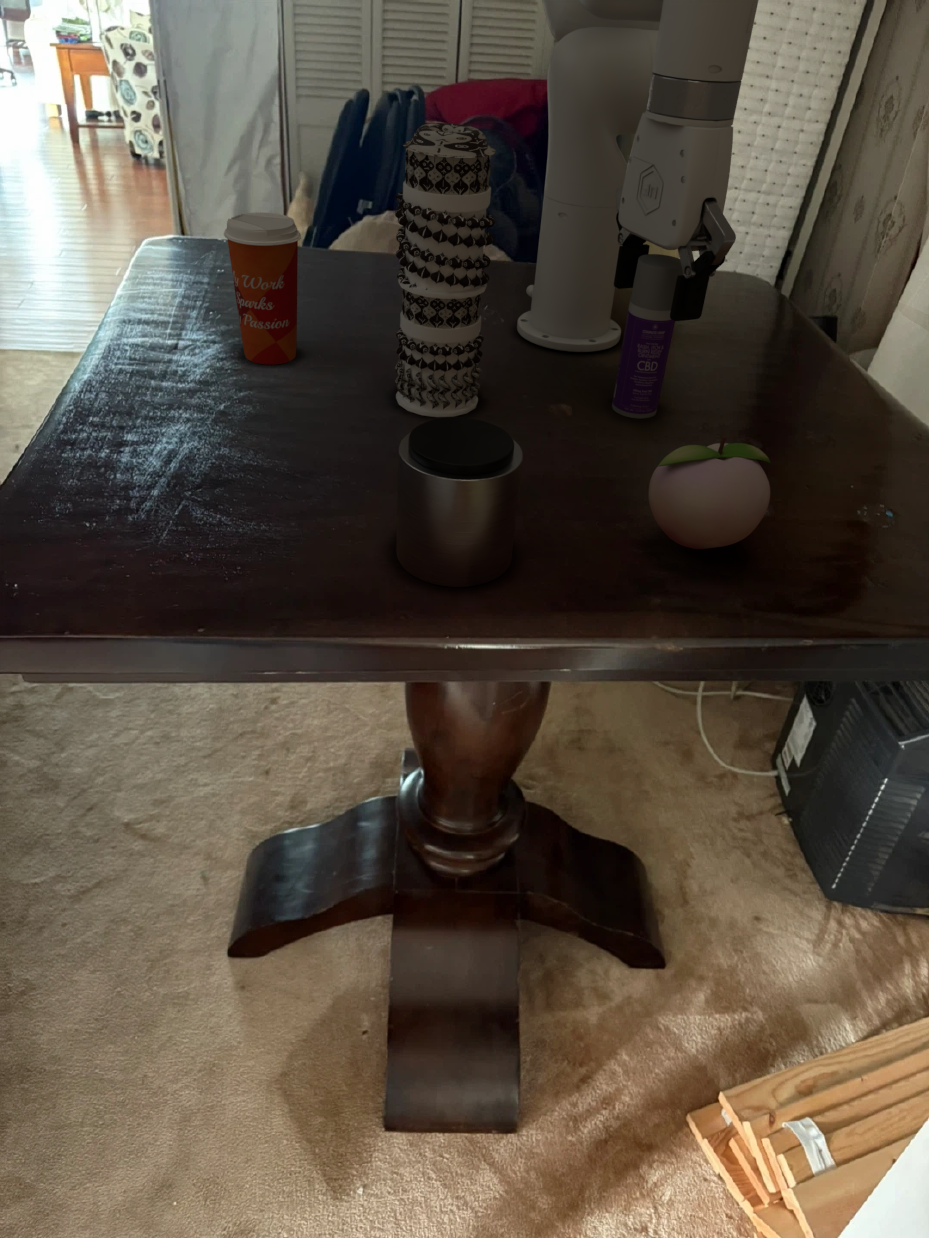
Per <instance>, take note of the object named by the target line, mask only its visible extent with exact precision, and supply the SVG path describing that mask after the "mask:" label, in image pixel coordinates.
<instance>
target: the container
mask: <svg viewBox="0 0 929 1238" xmlns="http://www.w3.org/2000/svg"><path fill="white" fill-rule="evenodd" d="M678 275H683V270H682V266H681V262H680V258H678V257H676V256H671V255H668V254H659V253H649V254H647V255H642V256H640V257H639V259H638V264H637V269H636V274H635V279H634V284H633V288H631V289H632V290H631V294H630V300H629V305H628V309H627V315H626V321H625V326H624V332H623V336H622V337H623V338H622V344H621V350H620V355H619V360H618V361H619V362H618V367H617V373H616V379H615V384H614V391H613V397H612V402H611V408H612V410H613V411H614V412H615V413H616V414H618V415H620V416H623V417H627V418H631V419H649V418H652V417H654V416H656V415H657V411H658V406H659V402H660V397H661V392H662V389H663V388H662V387H663V382H664V378H665V373H666V368H667V362H668V359H669V353H670V349H671V344H672V339H673V335H674V330H675V324H676V321H674V320H672V319H671V318H670V312H671V307H672V302H673V296H674V291H675V286H676V281H677V277H678Z"/></svg>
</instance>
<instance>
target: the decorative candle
mask: <svg viewBox="0 0 929 1238" xmlns="http://www.w3.org/2000/svg"><path fill="white" fill-rule="evenodd" d="M402 146H403V147H404V149H405V171H404V173H405V174H404V181H403V183H402V191H401V192H400V191H398V192H397V195H395V197H394V198H395V200H396V201H397V202H398V206H397V207H396V209H395V211H394V217H396V218H397V223H398V224H399V225H401V226H400V227H399V228H398V229H397V234H396V236H395V239H396V241H397V242H398V245H399V246H398V250H396V252H395V257H396V258H397V259H398V264H399V265H400V267H399V269H398V273H397V274H396V279H397V283H398V285H399V286H400V288H401V289H402V302H401V303H402V304H401V311H400V312H399V313H400V317H399V318H400V319H399V328H398V331H397V332H396V333H395V336H396V338H397V339H398V346H396V349H395V352H396V354H398V358H399V359H398V360H397V362H396V364H395V367H394V370H395V372H396V374H397V377H396V379H395V381H394V384H395V385H394V386H395V387H396V388H397V392H396V394H395V399H396V401H397V405H399V406H400V407H402V408H403V409H405V410H406V411H407V412H409V413H414V414H416V415H420V416H423V417H424V416H425V417H431V418H451V417H458V416H462V415H466V414H468V413H470V412H471V411H474V410H475V409H476V408H477V405H478V402H479V398H478V393H479V390H480V388H481V384H480V383H479V382H478V381H479V380H480V375H481V374H482V369H481V368H480V367H479V363H480V362H481V358H482V357H483V352H482V350H480V348H481V347H482V346H483V345H482V343H483V342H484V339H485V338H484V336H483V335H482V334H481V331H482V330H481V328H482V315H481V313H480V310H481V305H482V298H481V297H482V296H481V295H482V294H483V293H485V291H486V289H487V286H488V282H489V280H490V276H489V275H488V273H486V272H485V271H484V269H486V268H488V267H489V266H490V265H491V262H492V261H491V258H490V257H489V256H488V255H486V253H484V247H485V249H486V248H487V247H488V246H491V245H492V244H493V242H494V241H495V237H494V235H492V234H491V233H490V232H489V229H490V228H492V227H494V226H495V224H496V219H495V217H494V216H493V215H492V214H490V212H489V211H488V212H487V209H488V208H489V206H490V204H491V196H492V187H491V186H490V176H491V171H492V168H491V167H492V166H491V159H492V156H493V155H495V153H496V152H497V150H496V149H494V148H493V147H492V146H490V144H489V142H488V140H487V138H486V136H485V134H484V132H483V131H481V130H479V129H478V128H476V127H473V126H471V125H466V124H465V125H464V124H459V123H446V122H444V123H443V122H442V123H441V122H436V123H434V122H433V123H427V124H422V125H421V126H419V128H417V130H415V131H414V133H413V135H412V137H411V138H410V140H409V141H406V142H405V143H403V144H402Z"/></svg>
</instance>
